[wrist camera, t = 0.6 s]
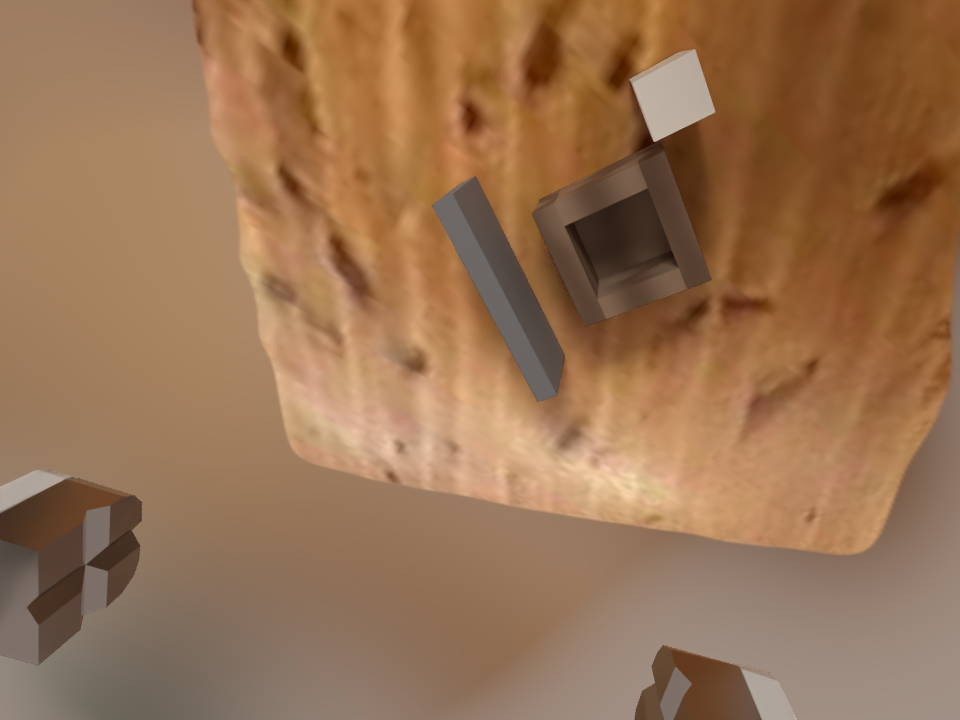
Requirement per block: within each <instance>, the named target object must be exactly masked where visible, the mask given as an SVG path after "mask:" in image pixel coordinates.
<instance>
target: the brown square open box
mask: <svg viewBox="0 0 960 720" xmlns="http://www.w3.org/2000/svg"><path fill="white" fill-rule="evenodd" d="M532 216H533V218H534V220H535V222H536V224H537V226H538V229H539V231H540V233H541V235H542V237H543V239H544V241H545V243H546V245H547V248H548V250H549V252H550V254H551V256H552V258H553V260H554V262H555V265H556V267H557V269H558V271H559V273H560V275H561V277H562V279H563V281H564V284H565V286H566V288H567V290H568V292H569V294H570V296H571V298H572V301H573V303H574V305H575V307H576V309H577V311H578V313H579V315H580V317H581V320H582V322H583V324H584V326H585V327H586V326H589V325H591V324H594V323H597V322H600V321H602V320H605V319H608V318H610V317H613V316H616V315H618V314H621V313H624V312H627V311H629V310H632V309H635V308H637V307H640V306H643V305H645V304H648V303H651V302H654V301H656V300H659V299H662V298H664V297H667V296H670V295H672V294H675V293H678V292H681V291H683V290H686V289H689V288H691V287H694V286H697V285H699V284H702V283H705V282H708V281H710V280H712V279H711V276H710V274H709V271H708V268H707V265H706V263H705V260H704V257H703V254H702V252H701V249H700V246H699V244H698V241H697V238H696V235H695V233H694V230H693V227H692V224H691V222H690V219H689V216H688V214H687V211H686V208H685V205H684V203H683V200H682V197H681V194H680V192H679V189H678V186H677V184H676V181H675V178H674V175H673V173H672V170H671V167H670V164H669V162H668V159H667V156H666V153H665V151H664V149H663V147H662V145H661V143H660V141H659V142H657V143H655V144H652V145H650V146H648V147H646V148H644V149H642V150H640V151H638V152H636V153H634V154H632V155H630V156H628V157H626V158H624V159H622V160H620V161H618V162H616V163H613V164H611V165H609V166H607V167H605V168H603V169H601V170H599V171H597V172H595V173H593V174H591V175H589V176H587V177H585V178H583V179H581V180H579V181H577V182H574V183H572V184H570V185H568V186H566V187H564V188H562V189H560V190H558V191H556V192H554V193H552V194H550V195H548V196H546V197H544V198H542V199H540V201H539V203H538V205H537V207H536V208H535V210H534V212H533V214H532Z"/></svg>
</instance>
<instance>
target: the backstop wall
mask: <svg viewBox="0 0 960 720" xmlns="http://www.w3.org/2000/svg"><path fill="white" fill-rule="evenodd" d="M432 206H433V208H434V210H435V212H436V214H437V215H438V217H439V219H440V221H441V223H442V225H443V227H444V228H445V230H446V232H447V234H448V236H449V238H450V240H451V241H452V243H453V245H454V247H455V249H456V251H457V253H458V255H459V256H460V258H461V260H462V262H463V264H464V266H465V268H466V269H467V271H468V273H469V275H470V277H471V279H472V281H473V282H474V284H475V286H476V288H477V290H478V292H479V294H480V296H481V297H482V299H483V301H484V303H485V305H486V307H487V309H488V310H489V312H490V314H491V316H492V318H493V320H494V322H495V323H496V325H497V327H498V329H499V331H500V333H501V335H502V337H503V338H504V340H505V342H506V344H507V346H508V348H509V350H510V351H511V353H512V355H513V357H514V359H515V361H516V363H517V364H518V366H519V368H520V370H521V372H522V374H523V376H524V378H525V379H526V381H527V383H528V385H529V387H530V389H531V391H532V392H533V394H534V396H535V398H536V400H537V402H539V401H542V400H545V399H548V398H551V397H554V396H557V394H558V388H559V383H560V378H561V372H562V367H563V361H564V356H565V355H564V353H563V351H562V349H561V347H560V345H559V343H558V341H557V339H556V337H555V335H554V333H553V331H552V329H551V327H550V325H549V323H548V321H547V319H546V317H545V315H544V313H543V311H542V309H541V307H540V305H539V303H538V301H537V299H536V297H535V295H534V293H533V291H532V289H531V287H530V285H529V283H528V281H527V279H526V276H525V274H524V272H523V270H522V268H521V266H520V264H519V262H518V260H517V258H516V256H515V254H514V252H513V250H512V248H511V246H510V244H509V242H508V240H507V238H506V236H505V234H504V232H503V230H502V228H501V226H500V224H499V222H498V220H497V218H496V216H495V214H494V212H493V210H492V208H491V206H490V204H489V202H488V200H487V198H486V196H485V194H484V192H483V190H482V188H481V186H480V184H479V182H478V180H477V178H476V176H475V177H473V178H471V179H469V180H467V181H465V182H463V183H462V184H460V185H458V186H456V187H455V188H454V189H452V190H451V191H450V192H449V193H447V194H446V195H445V196H443V197H442V198H441V199H439V200H438V201H437V202H435V203H434V204H433V205H432Z"/></svg>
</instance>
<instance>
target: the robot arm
mask: <svg viewBox="0 0 960 720" xmlns="http://www.w3.org/2000/svg"><path fill="white" fill-rule="evenodd" d="M141 521H142V502H141V501H140V500H139V499H138V498H137V497H136V496H135V495H132V494H128V493H125V492H122V491H118V490H115V489H112V488H109V487H105V486H102V485H99V484H96V483H92V482H89V481H86V480H83V479H79V478H74V477H72V476H69V475H65V474H62V473H58V472H55V471H52V470H36V471H33V472H31V473H29V474H27V475H25V476H23V477H20V478H18V479H16V480H14V481H12V482H10V483H8V484H6V485H3V486H1V487H0V655H2V656H5V657H9V658H12V659H16V660H20V661H23V662H27V663H31V664H34V665H40V664H41V663H42V662H43V661H44V660H45V659H47V658H48V657H49V656H50V655H51V654H52V653H54V652H55V651H56V650H57V649H58V648H60V647H61V646H62V645H63V644H64V643H65V642H67V641H68V640H69V639H70V638H71V637H72V636H73V635H75V634H76V633H77V632H78V631H80V630H81V625H82V620H83V616H84V615H87V614H89V613H92V612H95V611H98V610H101V609H104V608H106V607H107V606H108V605H110V604H111V603H112V602H113V601H114V600H115V599H116V598H117V597H119V596H120V595H121V594H122V592H123V591H124V590H125V588H126V587H127V585H128V584H129V582H130V580H131V579H132V578H133V576H134V574H135V571H136V568H137V565H138V562H139V555H140V544H139V543H138V541H137V539H136V537H135V535H134V534H133V532H132V530H133V529H134V528H135V527H136V526H137V525H138V524H139V523H140V522H141ZM652 671H653V675H654V680H655V683H654V684H653V685H652V686H649V687H648V688H646V689H644V690H643V691H642V693H641V696H640V699H639V702H638V705H637V708H636V713H635V720H797V719H796V716H795V714H794V712H793V710H792V708H791V706H790V704H789V702H788V700H787V698H786V696H785V694H784V692H783V690H782V688H781V686H780V685H779V682H778V680H777V679H776V678H775V677H774V676H773V675H771V673H769V672H766V671H762V670H758V669H754V668H750V667H746V666H742V665H738V664H730V663H726V662H723V661H719V660H715V659H711V658H708V657H705V656H701V655H697V654H694V653H690V652H686V651H683V650H679V649H676V648H672V647H668V646H664V645H663V646H662V647H661V648H660V650H659V651H658V652H657V655H656V657H655V659H654V662H653V664H652Z"/></svg>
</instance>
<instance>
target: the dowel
mask: <svg viewBox="0 0 960 720" xmlns="http://www.w3.org/2000/svg"><path fill="white" fill-rule="evenodd" d="M630 82H631V85H632V87H633V90H634V93H635V96H636V98H637V101H638V104H639V106H640V109H641V112H642V114H643V117H644V120H645V122H646V125H647V128H648V130H649V132H650V134H651V137H652V139H653V141H654V142H656V141H658V140H660V139H662V138H664V137H666V136H668V135H670V134H672V133H674V132H676V131H678V130H680V129H682V128H684V127H686V126H689V125H691V124H693V123H695V122H697V121H699V120H701V119H703V118H705V117H707V116H709V115H711V114H713V113H715V109H714V106H713V103H712V100H711V97H710V94H709V91H708V87H707V84H706V81H705V78H704V75H703V72H702V69H701V66H700V63H699V60H698V57H697V54H696V51H695V49H693V50H687V51H681V52H678V53H676V54H674V55H673V56H671V57H669V58H667V59H665V60H663V61H662V62H660V63H658V64H656V65H654V66H652V67H651V68H649V69H647V70H645V71H643V72H641V73H640V74H638V75H636V76H634V77H632V78H630Z"/></svg>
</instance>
